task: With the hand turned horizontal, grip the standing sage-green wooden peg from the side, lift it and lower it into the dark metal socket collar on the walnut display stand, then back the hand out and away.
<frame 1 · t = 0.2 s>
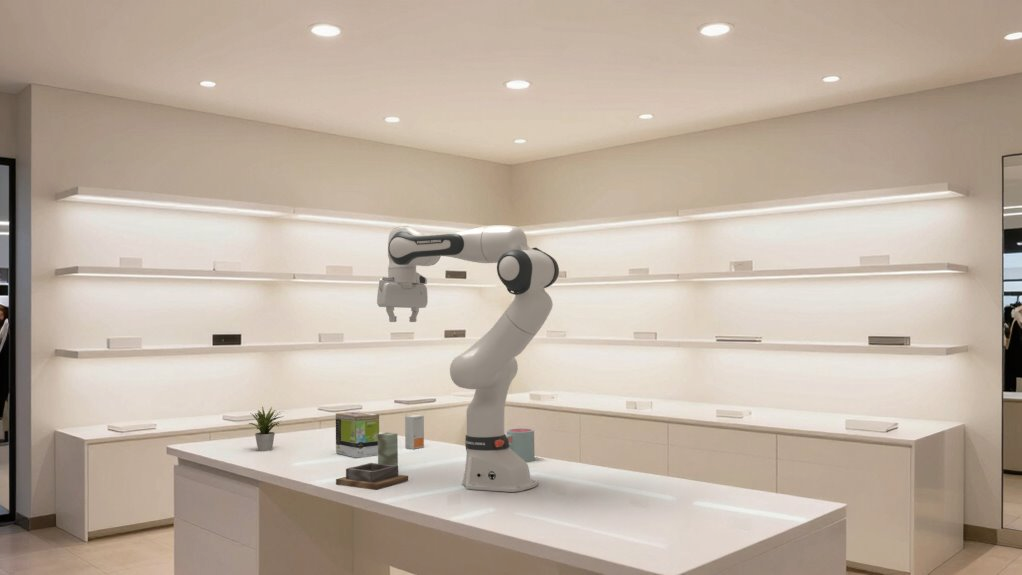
hand: (403, 322, 263), 48 cm above the worktop, tool pointing down, fingers open, 8 cm apart
green peg: (388, 471, 266), on the worktop
tea box: (357, 454, 300), on the worktop
mug: (516, 461, 281), on the worktop
display stand: (372, 482, 249), on the worktop
house plant: (265, 450, 312), on the worktop
skincare box: (414, 448, 311), on the worktop
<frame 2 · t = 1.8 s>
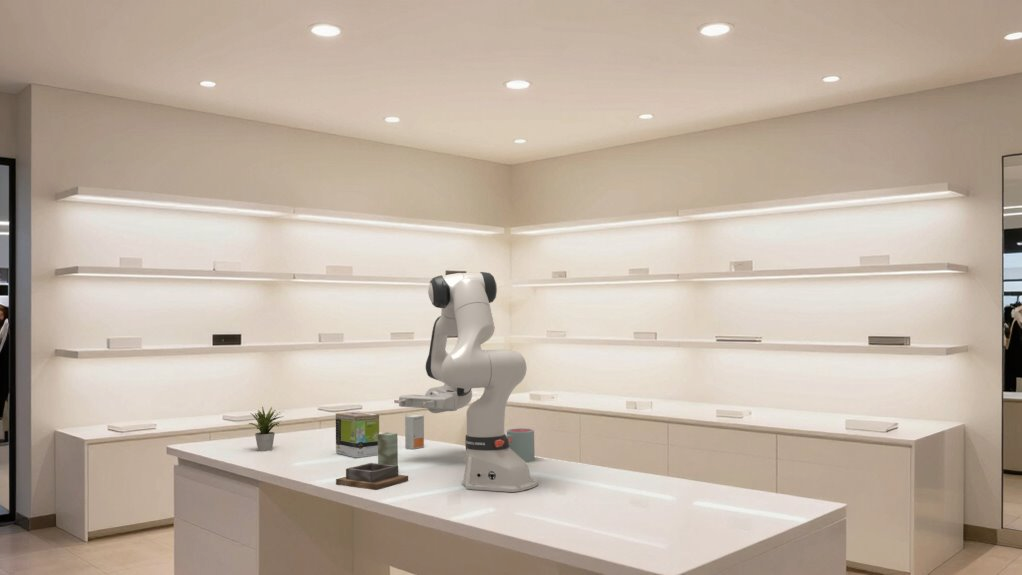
hand: (411, 404, 276), 20 cm above the worktop, tool horizontal, fingers open, 8 cm apart
nothing on the worktop moved.
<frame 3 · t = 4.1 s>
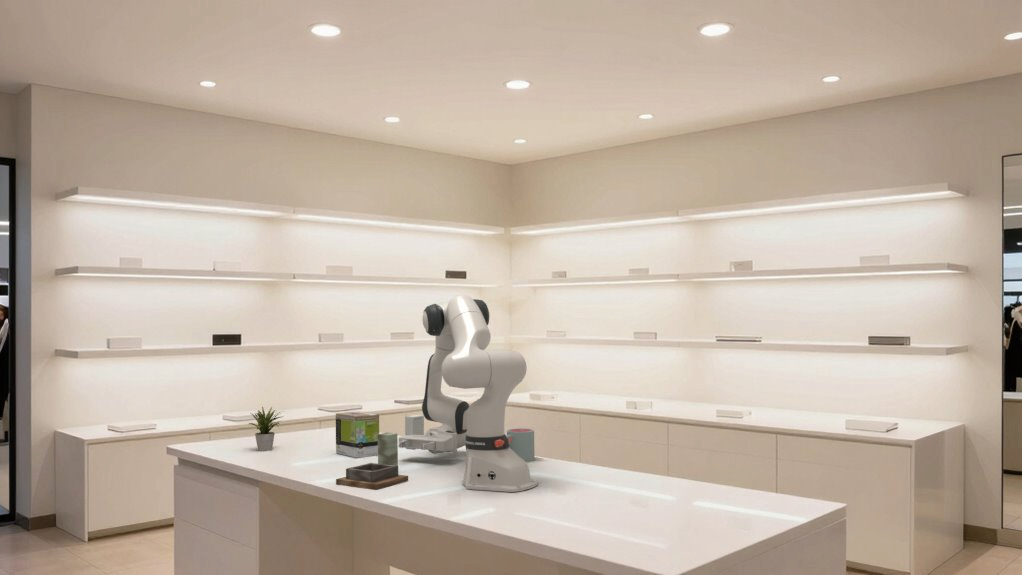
hand: (411, 446, 275), 6 cm above the worktop, tool horizontal, fingers open, 8 cm apart
nothing on the worktop moved.
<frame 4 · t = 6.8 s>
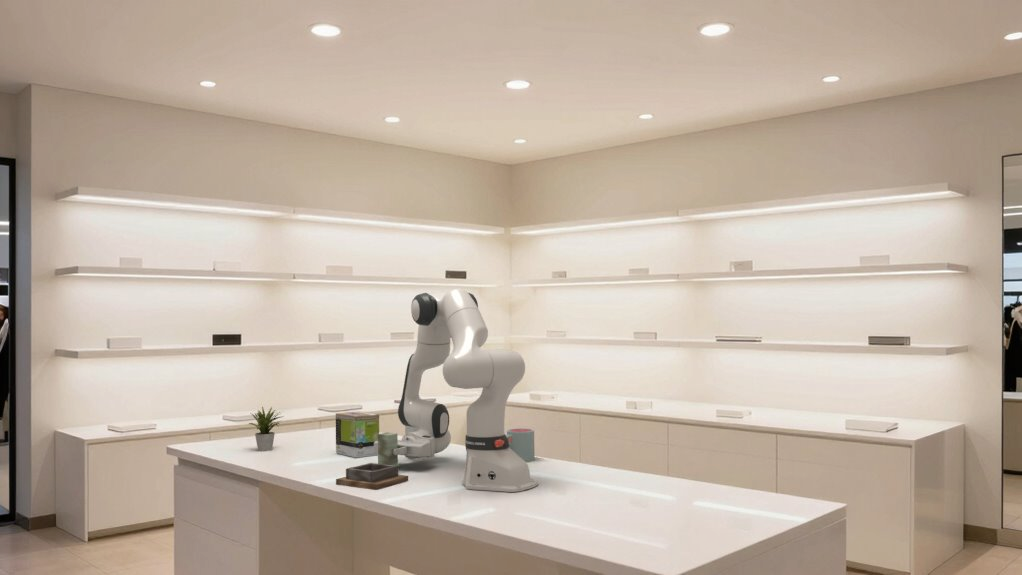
hand: (386, 451, 265), 7 cm above the worktop, tool horizontal, fingers closed on green peg, 4 cm apart
green peg: (388, 471, 266), on the worktop, touching gripper
everything else where it was.
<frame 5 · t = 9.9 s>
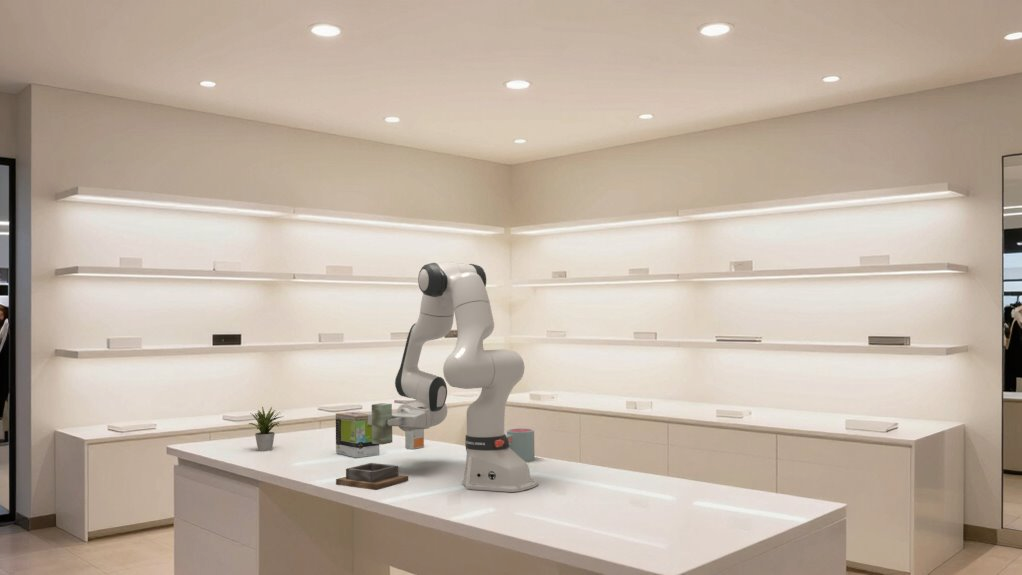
hand: (380, 422, 259), 17 cm above the worktop, tool horizontal, fingers closed on green peg, 4 cm apart
green peg: (382, 443, 259), point 10 cm above the worktop, touching gripper
everything else where it was.
when the fingers open (10 cm above the worktop, at t = 12.8 s): green peg drops 1 cm, resting on display stand.
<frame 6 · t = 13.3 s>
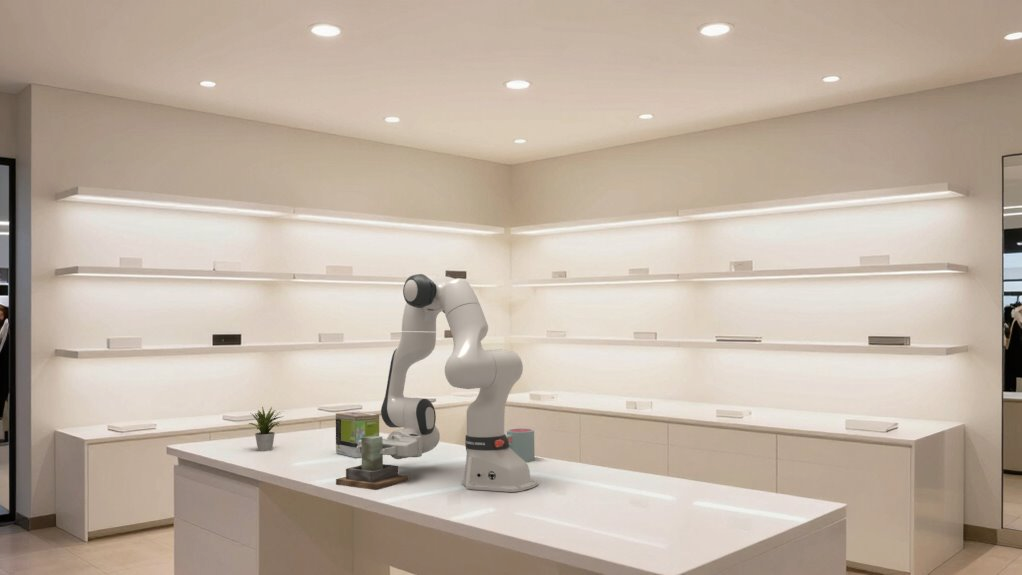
hand: (369, 450, 249), 10 cm above the worktop, tool horizontal, fingers open, 8 cm apart
green peg: (372, 477, 249), point 1 cm above the worktop, touching display stand
everything else where it was.
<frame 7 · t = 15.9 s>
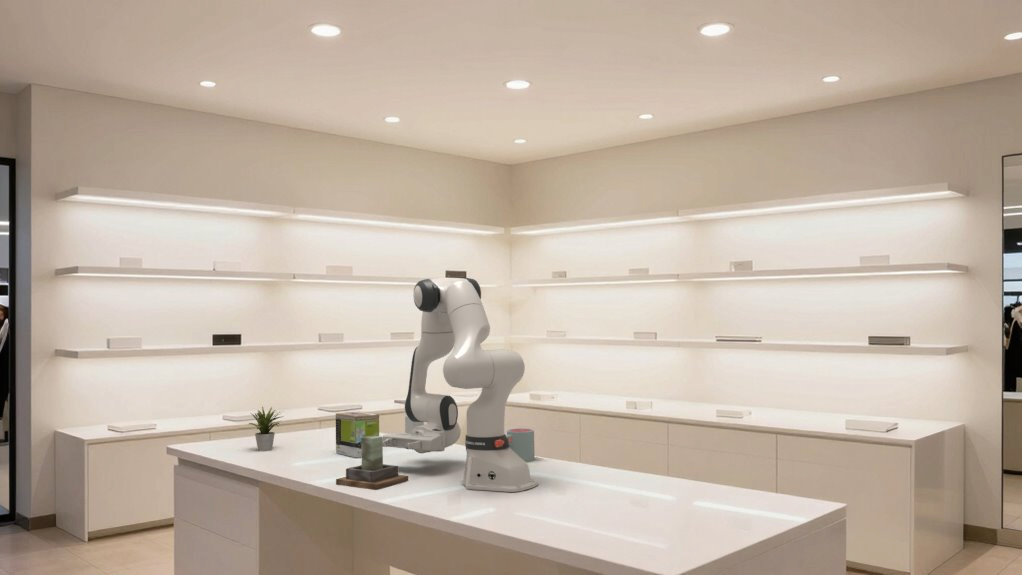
hand: (395, 445, 259), 10 cm above the worktop, tool horizontal, fingers open, 8 cm apart
nothing on the worktop moved.
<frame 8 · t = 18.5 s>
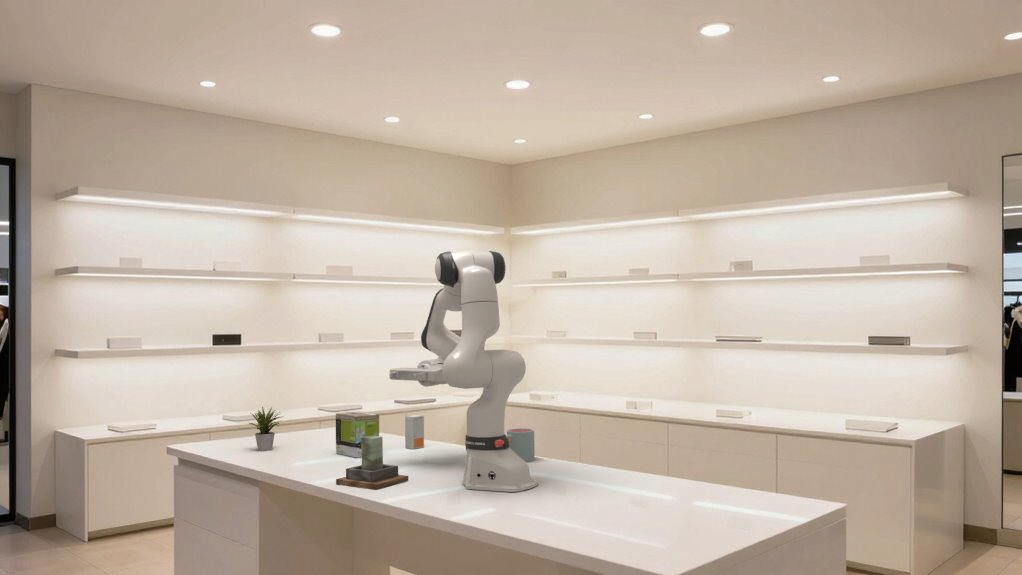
hand: (402, 376, 270), 30 cm above the worktop, tool horizontal, fingers open, 8 cm apart
nothing on the worktop moved.
at the end: green peg 0.1 cm off-centre on the display stand, point 1.5 cm above the display stand's base; green peg tilted 0°; the gripper is holding nothing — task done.
